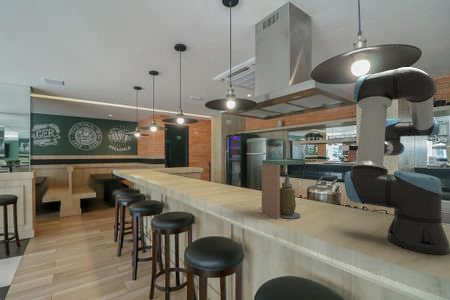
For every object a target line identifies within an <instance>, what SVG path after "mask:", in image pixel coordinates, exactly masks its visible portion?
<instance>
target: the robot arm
mask: <svg viewBox="0 0 450 300" xmlns="http://www.w3.org/2000/svg"><path fill="white" fill-rule="evenodd" d="M436 86H437V85H436V83H435V81H434V78H433V77H431V75H429V73H427V72H425V71H423V70H421V69H419V68H415V67H405V66H404V67H399V68H396V69H390V70H386V71H383V72H382V71H381V72H378V73H369V74H367V75H366V74H365V75H362V76H360V77H359V78H358V79H357V80H356V82H355V84H354V88H353V101H354V103H355V104H356V105H357V106H358V108H359V109H360V110H361V113H360V123H359V131H358V145H345V144H344V145H343V144H342V145H341V144H340V145H338V151H341V152H342V151H343V152H344V151H346V153H348V151H357V155H356V162H355V163H354V164H353V165H351V170H349V171H346V172H345V173H344V174H345V175H344V180H343V181H344V190H345V194H346V196H347V198H348V200H349V201H350V202H353V203H357V204H362V205H371V206H376V207H383V208H387V209H388V208H389V209H393V211H394V212H393V214H394V215H393V218H392V221H391V223H390V225H389V227H388V230H387V240H388V241H389V242H391V243H392V244H394V245H396V246H399V247H401V248H403V249H407V250H410V251H414V252H418V253H423V254H430V255H447V254H449V253H450V242H449V239H448V237H447V235H446V232H445V229H444V227H443V224H442V210H443V209H442V195H443V191H442V182H441V180H440V178H439V177H436V176H434V175H431V174H426V173H425V174H424V173H419V172H413V171H404V170H395V171H394V172H393V174H389V170H388V168H387V167H386V166H385V165H384V159H385V158H384V157H385V156H387V157H388V156H389V157H390V156H392V157H393V156H400V155H402V154H403V153H404V151H405V145H404V143H402V142H401V137H425V136H426V137H431V136H438V135H440V131H441V129H440V127H441V126H440V125H441V122H440V120H439V119H434V118H435V117H434V102H433V101H434V100H433V97H434V96H435V95H436V92H437V87H436ZM401 99H404V100H405V101H407V103H408V107H409V108H408V109H409V113H410V118H411V120H410V121H401V119H400V118H387V112H388V109H389V108H390V107H391V106H392V105H393V100H401Z"/></svg>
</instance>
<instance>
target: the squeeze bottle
mask: <svg viewBox="0 0 450 300" xmlns="http://www.w3.org/2000/svg"><path fill="white" fill-rule="evenodd" d="M281 186H282V187H281ZM281 186H280V213H281V214H283V215H293V214H294V212H296V208H297V204H296V203H297V202H296V191H295V188H294V187H293V183H292V182H291V181H290V176H289V175H285V178H284V182H282V183H281Z"/></svg>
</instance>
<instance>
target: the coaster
mask: <svg viewBox="0 0 450 300" xmlns="http://www.w3.org/2000/svg"><path fill="white" fill-rule="evenodd" d="M280 219H285V220H297V219H301V214H300V213H299V212H297V211H294V214H293V215H283V214H281V213H280Z"/></svg>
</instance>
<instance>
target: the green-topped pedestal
mask: <svg viewBox="0 0 450 300" xmlns="http://www.w3.org/2000/svg"><path fill="white" fill-rule="evenodd" d="M305 161H306V159H305V158H288V157H287V158H286V159H261V213H262V214H265V215H267V216H270V217H272V218H274V219H276V220H279V219H281V218H280V188H281V166H283V165H285V166H289V165H291V166H292V165H306V162H305Z"/></svg>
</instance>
